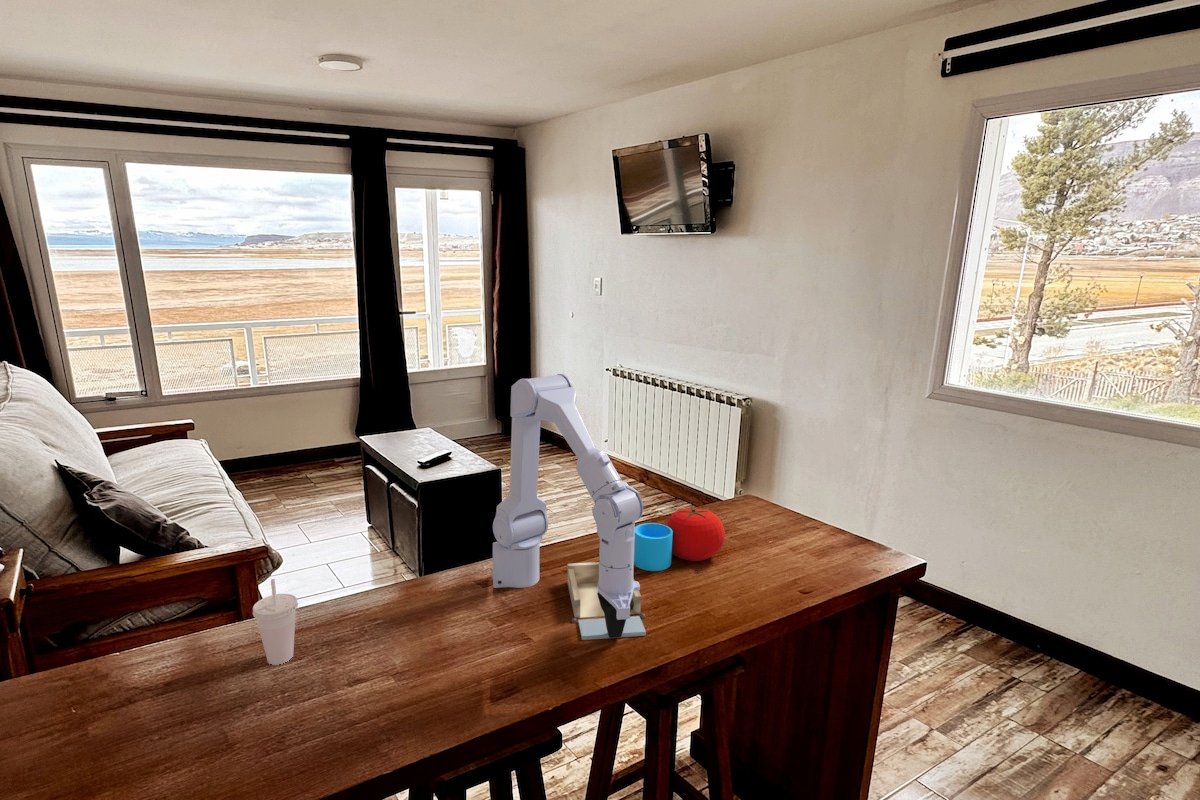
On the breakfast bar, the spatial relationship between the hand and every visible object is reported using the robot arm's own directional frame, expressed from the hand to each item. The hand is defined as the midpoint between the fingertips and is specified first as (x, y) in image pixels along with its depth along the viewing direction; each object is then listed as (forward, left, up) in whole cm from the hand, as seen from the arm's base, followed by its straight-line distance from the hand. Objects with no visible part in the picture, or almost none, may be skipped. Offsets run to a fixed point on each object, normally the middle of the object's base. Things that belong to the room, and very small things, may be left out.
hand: (614, 634), depth 107 cm
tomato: (+23, +31, -2) cm, 38 cm away
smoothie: (-54, +3, -2) cm, 54 cm away
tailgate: (0, +6, -1) cm, 6 cm away
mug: (+12, +29, -2) cm, 31 cm away
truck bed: (0, +14, -2) cm, 14 cm away
